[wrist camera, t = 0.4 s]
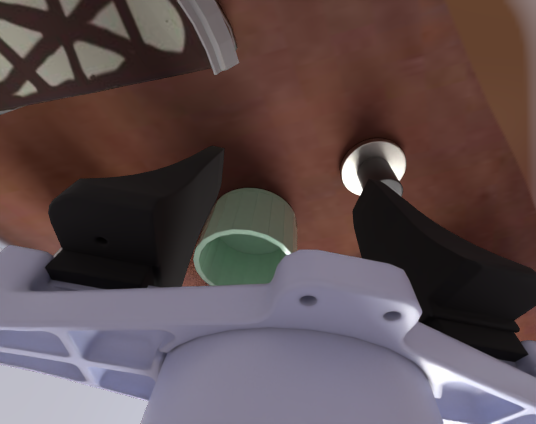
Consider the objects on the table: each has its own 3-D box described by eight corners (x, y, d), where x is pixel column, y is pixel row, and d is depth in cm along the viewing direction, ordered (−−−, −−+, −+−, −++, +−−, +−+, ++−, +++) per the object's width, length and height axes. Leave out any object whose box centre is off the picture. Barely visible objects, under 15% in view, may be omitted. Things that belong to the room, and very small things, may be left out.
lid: (393, 193, 24) (409, 222, 21) (335, 191, 24) (342, 220, 21) (412, 138, 21) (434, 163, 17) (345, 137, 21) (354, 161, 18)
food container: (235, -92, 14) (160, -216, 6) (258, 43, 18) (230, 72, 10) (43, -32, 16) (-193, -68, 8) (100, 77, 20) (-28, 123, 12)
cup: (294, 255, 30) (294, 301, 25) (216, 251, 31) (202, 295, 26) (299, 189, 25) (300, 232, 20) (204, 185, 25) (183, 227, 20)
